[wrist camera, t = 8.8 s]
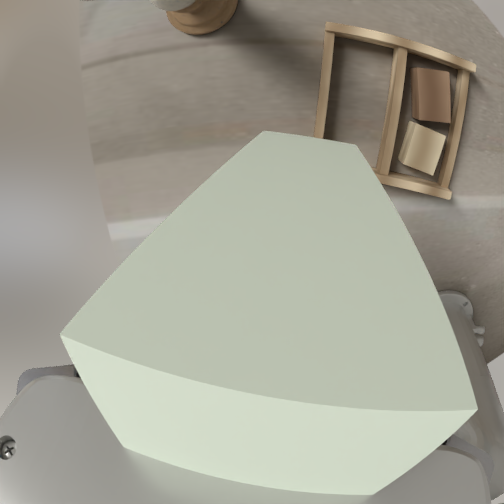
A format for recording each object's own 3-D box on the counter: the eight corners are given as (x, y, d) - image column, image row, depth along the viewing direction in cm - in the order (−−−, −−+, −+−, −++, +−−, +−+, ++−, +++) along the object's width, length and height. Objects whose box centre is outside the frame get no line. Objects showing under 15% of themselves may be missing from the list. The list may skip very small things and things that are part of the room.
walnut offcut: (439, 72, 26) (449, 71, 24) (441, 119, 29) (450, 123, 27) (409, 68, 27) (417, 67, 25) (411, 117, 30) (419, 119, 28)
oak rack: (465, 65, 25) (476, 64, 22) (441, 191, 33) (449, 200, 31) (325, 26, 27) (326, 21, 24) (309, 163, 36) (309, 170, 33)
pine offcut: (437, 132, 30) (446, 136, 28) (425, 168, 33) (433, 175, 30) (408, 120, 30) (416, 123, 28) (397, 158, 33) (403, 164, 31)
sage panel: (356, 145, 12) (478, 409, 2) (312, 333, 18) (285, 539, 8) (263, 130, 13) (60, 334, 2) (246, 322, 18) (182, 518, 8)
